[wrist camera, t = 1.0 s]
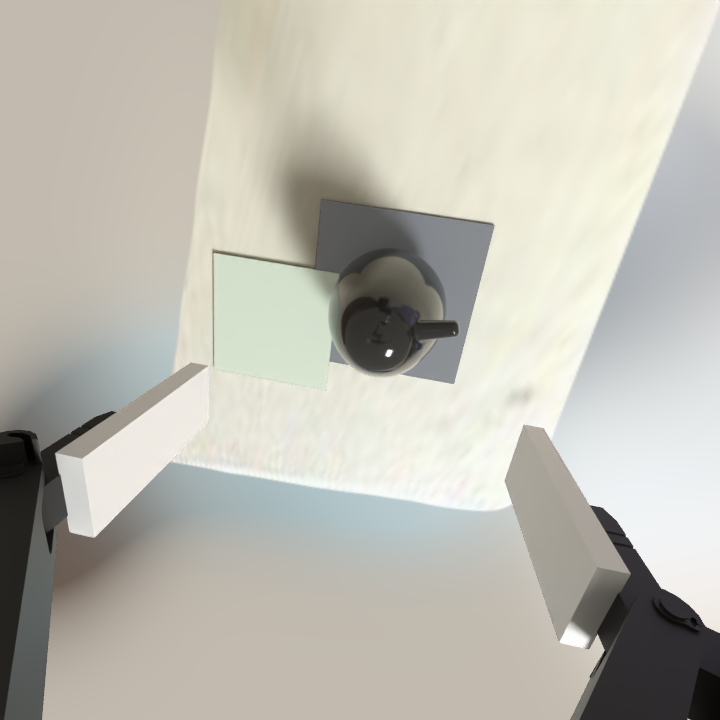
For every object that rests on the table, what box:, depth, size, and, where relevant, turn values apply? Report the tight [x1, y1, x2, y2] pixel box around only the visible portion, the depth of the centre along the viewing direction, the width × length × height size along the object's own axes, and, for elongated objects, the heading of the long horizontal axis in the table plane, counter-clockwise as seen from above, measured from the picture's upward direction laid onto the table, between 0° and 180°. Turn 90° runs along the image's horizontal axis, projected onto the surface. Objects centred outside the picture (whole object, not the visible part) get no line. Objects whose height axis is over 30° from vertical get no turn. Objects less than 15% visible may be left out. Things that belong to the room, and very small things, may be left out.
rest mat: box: [213, 253, 339, 391], centre depth 41 cm, size 13×13×1 cm
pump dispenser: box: [328, 248, 460, 378], centre depth 31 cm, size 10×10×15 cm
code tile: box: [315, 200, 494, 384], centre depth 38 cm, size 16×16×1 cm
